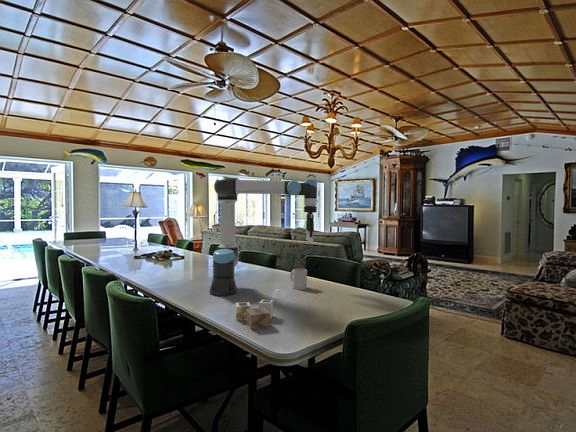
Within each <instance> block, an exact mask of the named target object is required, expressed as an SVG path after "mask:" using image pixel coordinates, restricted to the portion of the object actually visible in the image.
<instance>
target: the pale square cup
mask: <svg viewBox="0 0 576 432" xmlns="http://www.w3.org/2000/svg"><path fill="white" fill-rule="evenodd" d="M263 307H264V308H266V309H267V310H268V311H269V312H270V320H271V319H272V318H273V316H274V300H273V299H261V300H260V301H259V302H258V308H263Z"/></svg>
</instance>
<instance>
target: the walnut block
mask: <svg viewBox="0 0 576 432" xmlns="http://www.w3.org/2000/svg"><path fill="white" fill-rule="evenodd" d="M246 323H247V324H246ZM245 324H246V326H247V327H248V326H249V327H250V328H249V327H248V328H249V330H251V329H254V330H259V329H258V328H262V329H268V328H267V327H270V328H271V319H270V312H269V311H268V310H267V309H266V308H264V307H263V308H259V307H255V308H251V309H246V320H245Z"/></svg>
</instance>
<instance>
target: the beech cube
mask: <svg viewBox="0 0 576 432" xmlns="http://www.w3.org/2000/svg"><path fill="white" fill-rule="evenodd" d="M251 306H252V305H251V304H250V301H243V302H235V315H236V316H235V321H236V320H237V321H242V320H241V319H246V309H252V307H251Z"/></svg>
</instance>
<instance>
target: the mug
mask: <svg viewBox="0 0 576 432" xmlns="http://www.w3.org/2000/svg"><path fill="white" fill-rule="evenodd" d="M289 277H290V281H291V283H292V286H291V287H292V289H293V290H297V291H298V290H299V291H301V290H302V291H303V290H307V288H308V287H307V286H308V285H307V284H308V282H307V281H308V270H307V269H306V268H301V267H300V268H293V269H292V270H291V272H290V275H289Z"/></svg>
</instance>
